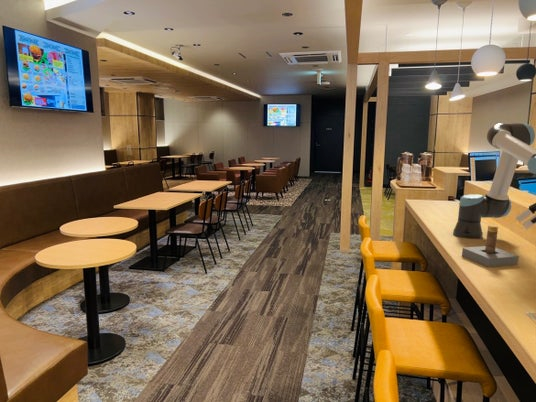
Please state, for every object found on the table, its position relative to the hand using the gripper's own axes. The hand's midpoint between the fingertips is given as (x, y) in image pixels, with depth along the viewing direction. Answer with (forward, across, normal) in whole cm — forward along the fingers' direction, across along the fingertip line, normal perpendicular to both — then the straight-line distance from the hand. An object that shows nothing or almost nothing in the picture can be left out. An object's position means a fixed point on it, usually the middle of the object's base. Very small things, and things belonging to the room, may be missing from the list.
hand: (520, 223), depth 173 cm
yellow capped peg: (+21, 0, -6) cm, 21 cm away
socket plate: (+21, 0, -6) cm, 21 cm away
